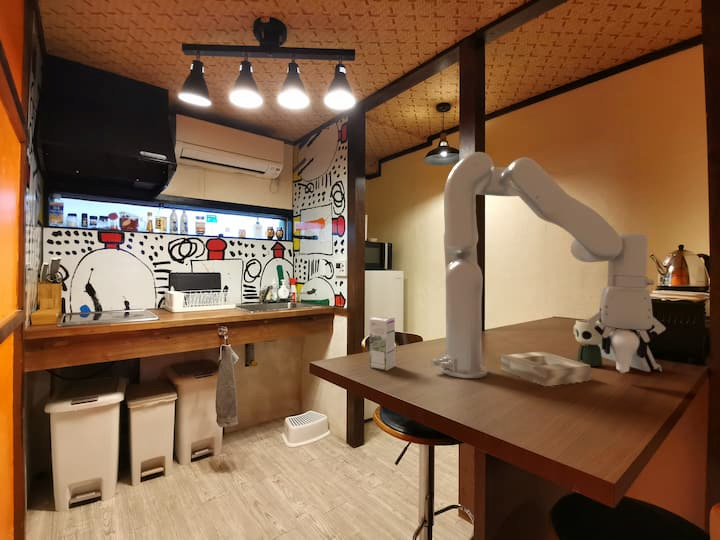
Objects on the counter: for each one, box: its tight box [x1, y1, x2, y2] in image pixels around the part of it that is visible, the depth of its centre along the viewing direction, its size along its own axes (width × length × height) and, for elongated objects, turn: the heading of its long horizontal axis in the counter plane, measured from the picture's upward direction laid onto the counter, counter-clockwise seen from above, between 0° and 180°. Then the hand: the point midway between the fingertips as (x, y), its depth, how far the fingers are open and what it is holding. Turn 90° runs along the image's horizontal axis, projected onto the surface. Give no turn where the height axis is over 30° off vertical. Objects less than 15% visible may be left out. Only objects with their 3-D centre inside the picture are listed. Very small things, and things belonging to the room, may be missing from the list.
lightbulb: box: [609, 328, 640, 374], centre depth 83 cm, size 6×6×11 cm
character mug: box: [573, 319, 604, 367], centre depth 99 cm, size 11×7×13 cm, turn 13°
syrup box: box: [368, 316, 396, 371], centre depth 97 cm, size 6×6×14 cm
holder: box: [500, 351, 591, 387], centre depth 90 cm, size 15×15×4 cm
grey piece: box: [598, 332, 663, 373], centre depth 101 cm, size 17×5×10 cm, turn 4°
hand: (623, 354), depth 83 cm, fingers closed on lightbulb, 6 cm apart
